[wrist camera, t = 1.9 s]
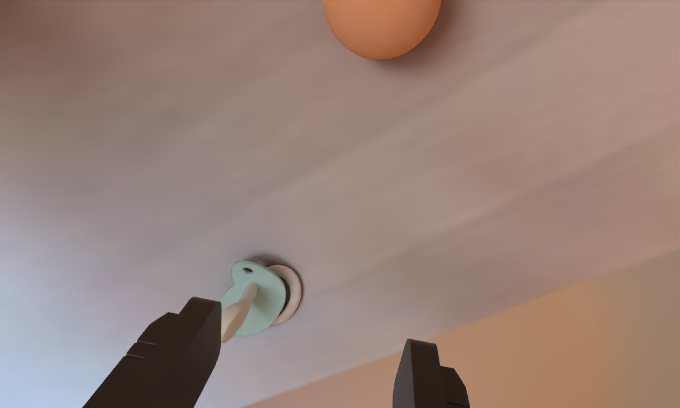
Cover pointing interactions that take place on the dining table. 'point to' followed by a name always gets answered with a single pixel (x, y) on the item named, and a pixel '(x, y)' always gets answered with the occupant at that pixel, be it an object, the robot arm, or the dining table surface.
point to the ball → (381, 24)
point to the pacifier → (257, 299)
